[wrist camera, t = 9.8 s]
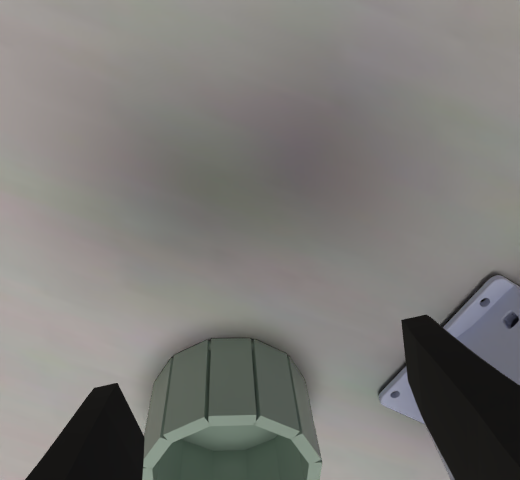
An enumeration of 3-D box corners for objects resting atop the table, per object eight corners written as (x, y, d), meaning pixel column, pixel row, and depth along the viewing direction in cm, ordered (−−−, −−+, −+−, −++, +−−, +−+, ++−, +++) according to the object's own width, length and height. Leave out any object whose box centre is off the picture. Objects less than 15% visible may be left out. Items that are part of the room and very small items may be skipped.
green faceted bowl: (200, 314, 24) (195, 389, 19) (333, 375, 26) (356, 453, 22) (128, 419, 26) (109, 505, 22) (254, 465, 29) (259, 550, 24)
